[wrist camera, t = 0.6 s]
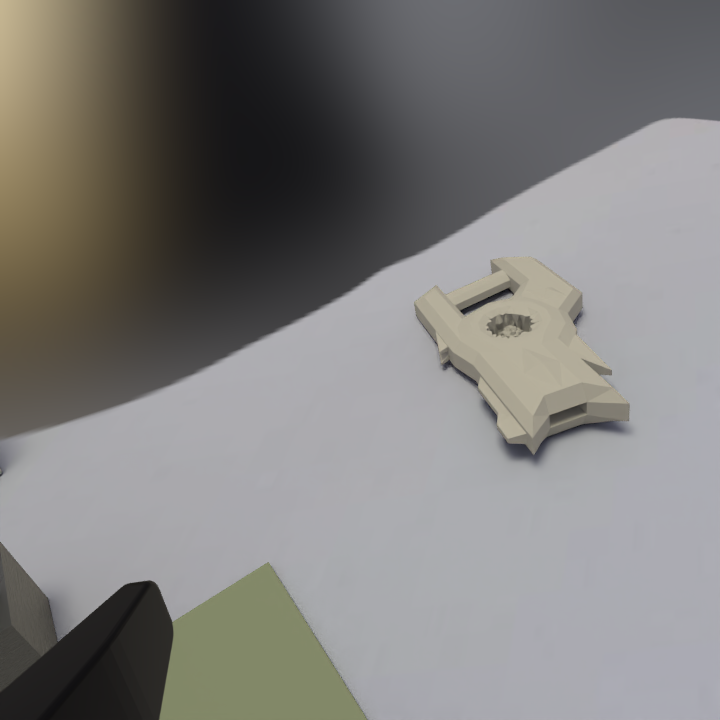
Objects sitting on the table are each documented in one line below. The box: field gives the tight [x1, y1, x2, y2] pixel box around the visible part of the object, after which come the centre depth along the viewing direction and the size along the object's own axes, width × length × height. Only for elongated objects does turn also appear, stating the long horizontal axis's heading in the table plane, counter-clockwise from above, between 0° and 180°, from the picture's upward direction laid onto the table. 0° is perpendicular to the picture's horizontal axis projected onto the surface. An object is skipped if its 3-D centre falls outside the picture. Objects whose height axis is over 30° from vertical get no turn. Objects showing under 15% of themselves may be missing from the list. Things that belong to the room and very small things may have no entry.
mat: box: [159, 562, 367, 720], centre depth 24 cm, size 9×9×1 cm
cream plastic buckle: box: [414, 257, 630, 455], centre depth 38 cm, size 18×4×10 cm
